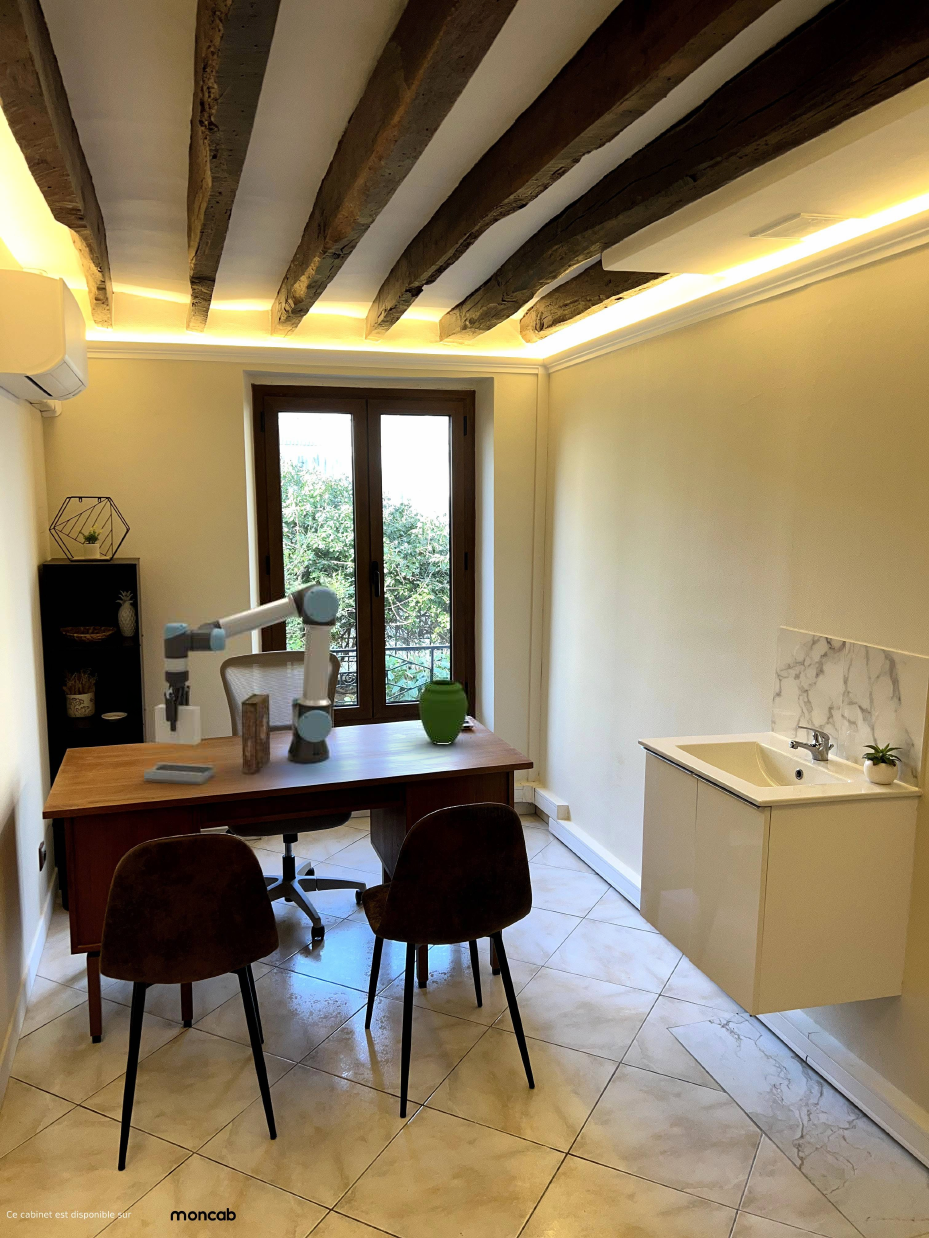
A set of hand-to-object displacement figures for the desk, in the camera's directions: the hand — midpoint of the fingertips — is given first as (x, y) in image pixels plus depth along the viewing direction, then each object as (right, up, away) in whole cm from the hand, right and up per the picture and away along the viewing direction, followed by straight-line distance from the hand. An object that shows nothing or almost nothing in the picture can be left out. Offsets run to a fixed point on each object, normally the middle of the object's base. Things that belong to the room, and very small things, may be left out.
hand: (178, 738), depth 273 cm
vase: (+87, -9, +51) cm, 101 cm away
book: (+22, -13, +15) cm, 30 cm away
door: (0, -1, 0) cm, 1 cm away
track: (0, -14, +2) cm, 14 cm away
